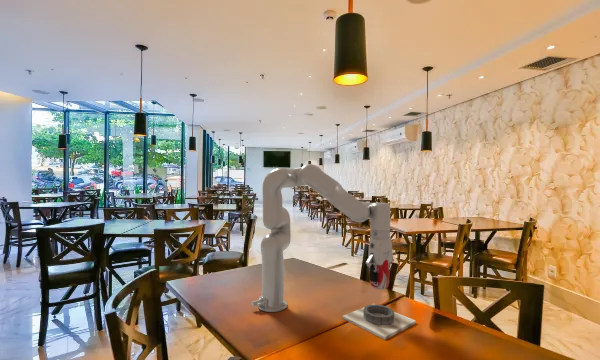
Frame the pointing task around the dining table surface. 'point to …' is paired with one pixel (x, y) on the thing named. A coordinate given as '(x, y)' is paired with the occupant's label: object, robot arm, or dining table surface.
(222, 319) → the dining table surface
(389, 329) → the socket board
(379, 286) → the soda can
